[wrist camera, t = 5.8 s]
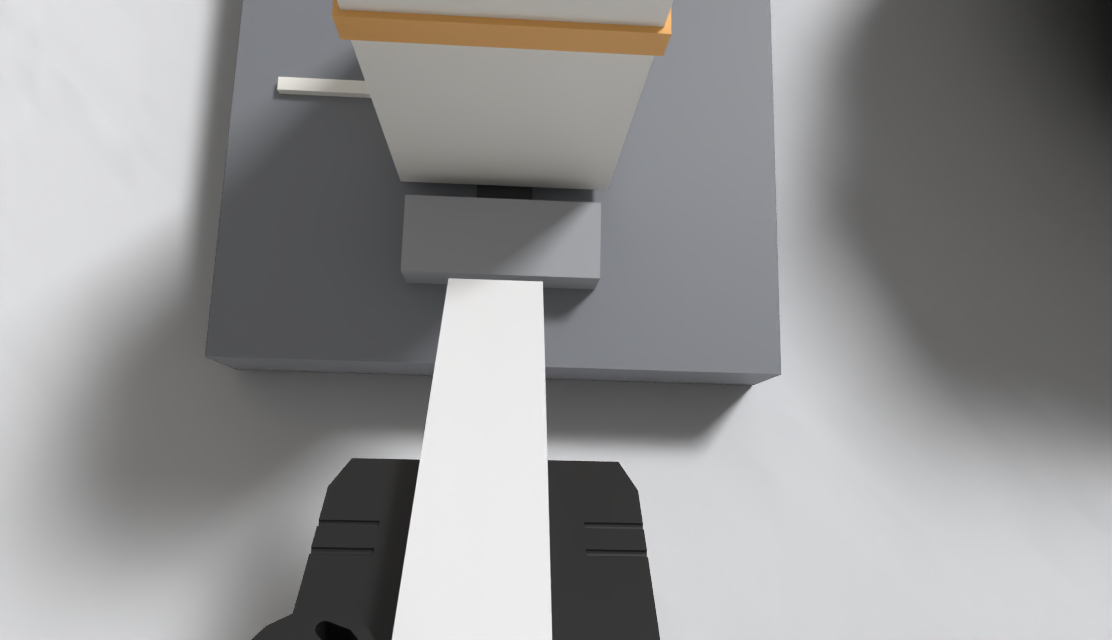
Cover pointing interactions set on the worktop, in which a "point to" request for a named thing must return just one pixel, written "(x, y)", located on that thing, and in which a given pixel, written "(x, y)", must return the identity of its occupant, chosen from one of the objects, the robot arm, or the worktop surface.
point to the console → (500, 218)
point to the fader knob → (505, 84)
